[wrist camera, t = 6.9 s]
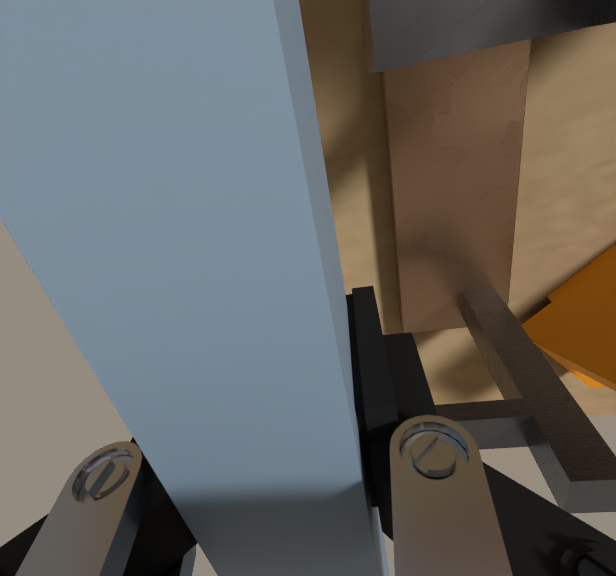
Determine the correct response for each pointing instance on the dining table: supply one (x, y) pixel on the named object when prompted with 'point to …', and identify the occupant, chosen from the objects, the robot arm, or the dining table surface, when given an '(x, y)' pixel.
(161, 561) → the robot arm
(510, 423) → the stand
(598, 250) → the dining table surface
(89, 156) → the rail
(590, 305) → the bracket
